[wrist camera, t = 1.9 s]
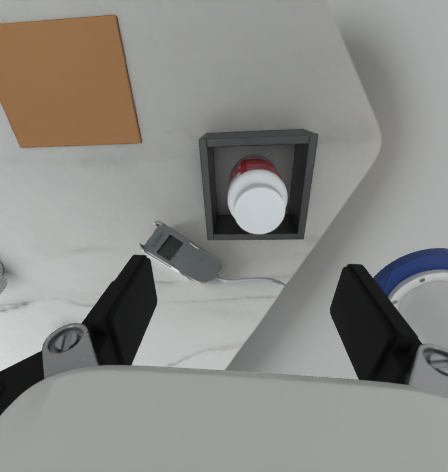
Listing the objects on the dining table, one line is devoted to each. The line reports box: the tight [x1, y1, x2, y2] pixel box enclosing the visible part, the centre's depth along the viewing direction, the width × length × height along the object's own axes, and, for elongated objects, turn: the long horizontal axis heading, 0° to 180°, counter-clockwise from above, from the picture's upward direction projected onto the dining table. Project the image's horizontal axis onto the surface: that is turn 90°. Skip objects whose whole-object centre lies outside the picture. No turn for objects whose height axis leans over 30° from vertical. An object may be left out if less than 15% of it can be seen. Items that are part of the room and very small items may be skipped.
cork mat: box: [0, 15, 142, 148], centre depth 27 cm, size 16×12×1 cm
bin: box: [199, 129, 318, 240], centre depth 28 cm, size 12×12×6 cm
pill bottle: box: [227, 156, 287, 234], centre depth 26 cm, size 6×6×11 cm
